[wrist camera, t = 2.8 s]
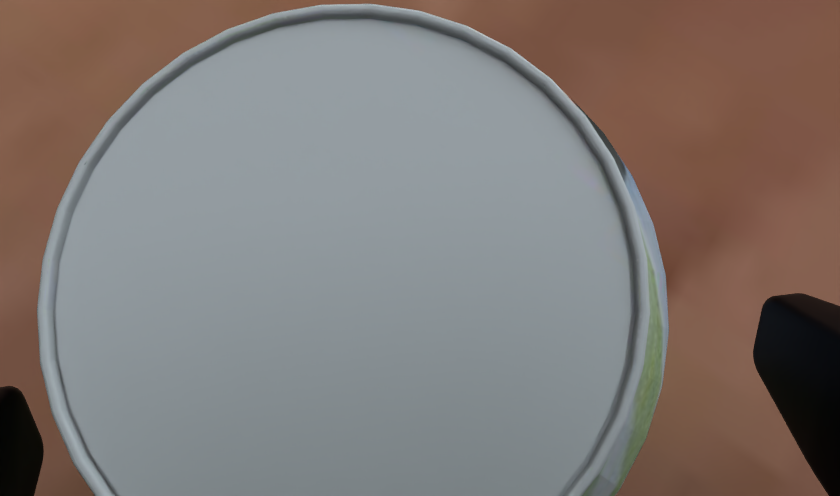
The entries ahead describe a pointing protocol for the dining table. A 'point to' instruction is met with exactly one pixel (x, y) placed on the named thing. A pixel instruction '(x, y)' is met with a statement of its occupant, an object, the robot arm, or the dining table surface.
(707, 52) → the dining table surface
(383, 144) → the beverage can
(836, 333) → the robot arm
